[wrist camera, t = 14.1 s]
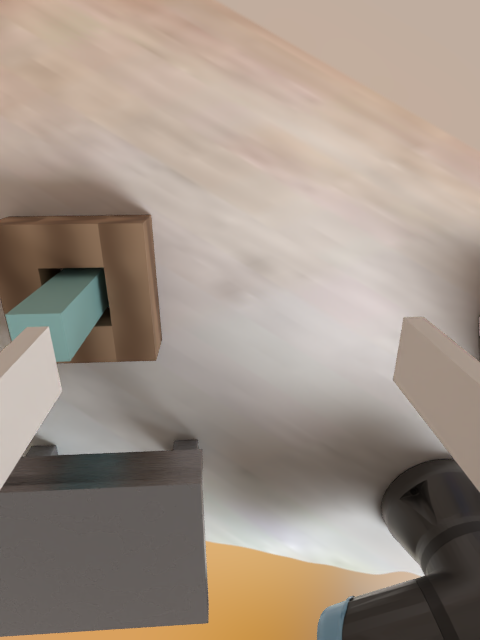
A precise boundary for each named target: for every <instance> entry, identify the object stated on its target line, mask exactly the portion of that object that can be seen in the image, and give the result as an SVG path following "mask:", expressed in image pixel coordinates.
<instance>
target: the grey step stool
mask: <svg viewBox="0 0 480 640" xmlns="http://www.w3.org/2000/svg"><path fill="white" fill-rule="evenodd" d="M202 469H203V455H202V449H198V440H180V441H174V449H173V451H150V452H126V453H103V454H79V455H58V453H57V449H56V446H33V447H31V448H30V450H29V452H28V453H27V455H26V456H25V457H21V458H20V459H19V461H18V462H17V464H16V466H15V467H14V469H13V470H12V472H11V474H10V475H9V477H8V478H7V480H6V482H5V483H4V485H3V486H2V488H1V489H0V637H2V636H17V635H32V634H48V633H64V632H78V631H95V630H109V629H125V628H141V627H156V626H172V625H186V624H203V623H208V605H209V604H208V586H207V585H208V584H207V566H206V545H205V526H204V507H203V487H202Z"/></svg>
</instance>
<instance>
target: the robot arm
mask: <svg viewBox="0 0 480 640" xmlns="http://www.w3.org/2000/svg"><path fill="white" fill-rule="evenodd" d="M393 381H394V382H395V383H396V385H397V386H398V387H399V389H400V390H401V391H402V392H403V394H404V395H405V396H406V398H407V399H408V400H409V401H410V403H411V404H412V405H413V407H414V408H415V409H416V411H417V412H418V413H419V414H420V416H421V417H422V418H423V420H424V421H425V422H426V423H427V425H428V426H429V427H430V429H431V430H432V431H433V432H434V434H435V435H436V436H437V438H438V439H439V440H440V442H441V443H442V444H443V445H444V447H445V448H446V449H447V451H448V452H449V453H450V454H451V456H452V457H453V458H454V460H434V461H429V462H426V463H422V464H420V465H417V466H415V467H413V468H411V469H409V470H407V471H406V472H404V473H403V474H401V475H400V476H399V477H398V478H397V479H396V480H395V481H394V482H393V483H392V484H391V485H390V486H389V488H388V489H387V491H386V493H385V495H384V497H383V500H382V505H381V511H382V516H383V518H384V521H385V523H386V525H387V527H388V529H389V531H390V533H391V534H392V536H393V537H394V538H395V539H396V540H397V541H398V542H399V543H400V544H401V545H402V547H403V548H404V549H405V550H406V551H407V552H408V553H409V554H410V555H411V557H412V558H413V559H414V560H415V561H416V562H417V563H418V564H419V565H420V567H421V568H422V570H423V572H424V574H425V576H423V577H420V578H417V579H413V580H410V581H406V582H403V583H399V584H396V585H393V586H390V587H387V588H383V589H380V590H377V591H373V592H370V593H367V594H363V595H360V596H357V597H355V596H350V597H349V598H347V599H346V601H343V602H340V603H338V604H335V605H332V606H329V607H328V608H326V609H325V610H324V611H323V613H322V614H321V616H320V619H319V622H318V631H317V640H480V362H479V361H478V360H477V359H475V358H474V357H473V356H472V355H470V354H469V353H468V352H467V351H465V350H464V349H463V348H462V347H460V346H459V345H458V344H457V343H455V342H454V341H453V340H452V339H450V338H449V337H448V336H447V335H445V334H444V333H443V332H442V331H440V330H439V329H438V328H437V327H435V326H434V325H433V324H432V323H430V322H429V321H428V320H427V319H425V318H424V317H404V318H403V324H402V330H401V336H400V342H399V348H398V354H397V360H396V366H395V372H394V377H393ZM61 393H62V388H61V383H60V378H59V373H58V369H57V364H56V359H55V354H54V349H53V344H52V339H51V335H50V330H49V326H47V327H27V328H25V329H24V330H23V331H22V332H21V333H20V334H19V335H18V336H17V337H16V338H15V339H14V340H13V341H12V342H11V343H10V344H9V345H8V346H7V347H5V348H4V349H3V350H2V351H1V352H0V489H1V488H2V486H3V485H4V483H5V482H6V480H7V478H8V477H9V475H10V474H11V472H12V470H13V469H14V467H15V466H16V464H17V462H18V461H19V459H20V458H21V456H22V455H23V453H24V451H25V450H26V448H27V447H28V445H29V443H30V442H31V440H32V439H33V437H34V435H35V434H36V432H37V431H38V429H39V427H40V426H41V424H42V423H43V421H44V420H45V418H46V416H47V415H48V413H49V412H50V410H51V408H52V407H53V405H54V404H55V402H56V400H57V399H58V397H59V396H60V394H61Z"/></svg>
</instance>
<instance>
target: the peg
mask: <svg viewBox="0 0 480 640" xmlns="http://www.w3.org/2000/svg"><path fill="white" fill-rule="evenodd" d="M108 305H109V301H108V294H107V287H106V280H105V272H104V267H97V268H64V269H63V270H61V271H60V272H59V273H57V274H56V275H55V276H54V277H52V278H51V279H50V280H49V281H47V282H46V283H45V284H44V285H42V286H41V287H40V288H38V289H37V290H36V291H35V292H33V293H32V294H31V295H30V296H28V297H27V298H26V299H25V300H23V301H22V302H21V303H19V304H18V305H17V306H16V307H14V308H13V309H12V310H11V311H9V312H8V313H7V314H6V315H5V316H6V320H7V324H8V328H9V332H10V336H11V340H12V341H13V340H14V339H15V338H16V337H17V336H18V335H19V334H20V333H21V332H22V331H23V330H24V329H25V328H27V327H47V326H49V330H50V335H51V339H52V344H53V349H54V354H55V359H56V362H63V361H71V359H72V358H73V356H74V355H75V354H76V352H77V351H78V349H79V348H80V346H81V345H82V343H83V342H84V340H85V339H86V337H87V336H88V335H89V333H90V332H91V330H92V329H93V327H94V326H95V324H96V323H97V321H98V320H99V318H100V317H101V315H102V314H103V313H104V311H105V310H106V308H107V307H108Z"/></svg>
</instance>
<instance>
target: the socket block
mask: <svg viewBox="0 0 480 640" xmlns="http://www.w3.org/2000/svg"><path fill="white" fill-rule="evenodd" d="M97 267H104V272H105V280H106V287H107V294H108V301H109V308H106V310H105V311H104V313H103V314H102V315H101V317H100V318H99V320H98V321H97V323H96V324H95V326H94V327H93V329H92V330H91V332H90V333H89V335H88V336H87V337H86V339H85V340H84V342H83V343H82V345H81V346H80V348H79V349H78V351H77V352H76V354H75V355H74V356H73V358H72V359H71V361H63V362H56V364H58V363H91V362H124V361H156V359H157V355H158V352H159V348H160V345H161V341H162V335H161V324H160V312H159V301H158V289H157V278H156V266H155V255H154V243H153V232H152V220H151V215H108V216H19V217H6V218H3V219H0V298H1V302H2V306H3V310H4V314H5V315H6V314H7V313H8V312H9V311H11V310H12V309H13V308H14V307H16V306H17V305H18V304H19V303H21V302H22V301H23V300H25V299H26V298H27V297H28V296H30V295H31V294H32V293H33V292H35V291H36V290H37V289H38V288H40V287H41V286H42V285H44V284H45V283H46V282H47V281H49V280H50V279H51V278H52V277H54V276H55V275H56V274H57V273H59V272H60V268H97ZM5 318H6V316H5ZM6 322H7V320H6ZM7 326H8V324H7ZM8 330H9V328H8ZM9 334H10V332H9ZM10 338H11V336H10ZM11 342H12V340H11Z"/></svg>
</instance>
